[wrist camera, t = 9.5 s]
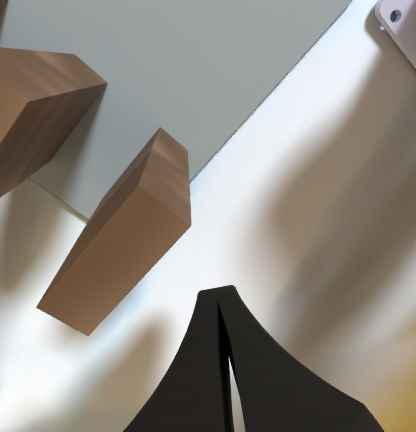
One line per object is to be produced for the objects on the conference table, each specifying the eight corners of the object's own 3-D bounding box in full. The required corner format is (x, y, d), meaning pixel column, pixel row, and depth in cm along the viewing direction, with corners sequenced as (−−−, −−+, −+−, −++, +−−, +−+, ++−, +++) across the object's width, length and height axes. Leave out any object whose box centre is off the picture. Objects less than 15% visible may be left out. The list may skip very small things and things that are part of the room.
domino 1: (108, 82, 16) (28, 101, 8) (50, 161, 17) (-71, 248, 9) (74, 54, 15) (-51, 42, 7) (17, 137, 17) (-143, 208, 8)
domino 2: (187, 149, 17) (191, 225, 9) (129, 217, 19) (88, 336, 11) (160, 126, 17) (138, 185, 9) (102, 198, 18) (36, 307, 10)
